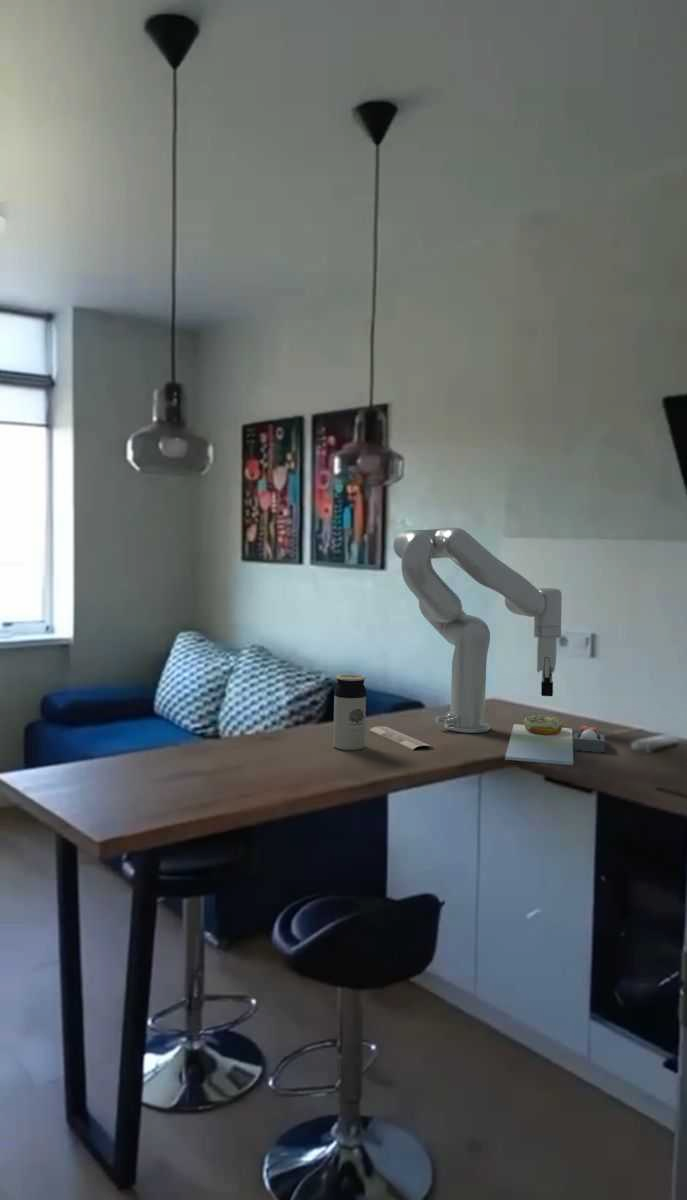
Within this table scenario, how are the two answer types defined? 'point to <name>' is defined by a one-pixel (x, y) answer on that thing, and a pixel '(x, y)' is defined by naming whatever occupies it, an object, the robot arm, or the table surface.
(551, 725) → the decorated donut
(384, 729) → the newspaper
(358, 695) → the travel mug
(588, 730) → the dome button
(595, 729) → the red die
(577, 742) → the dome collar
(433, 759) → the table surface
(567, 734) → the white flat board
